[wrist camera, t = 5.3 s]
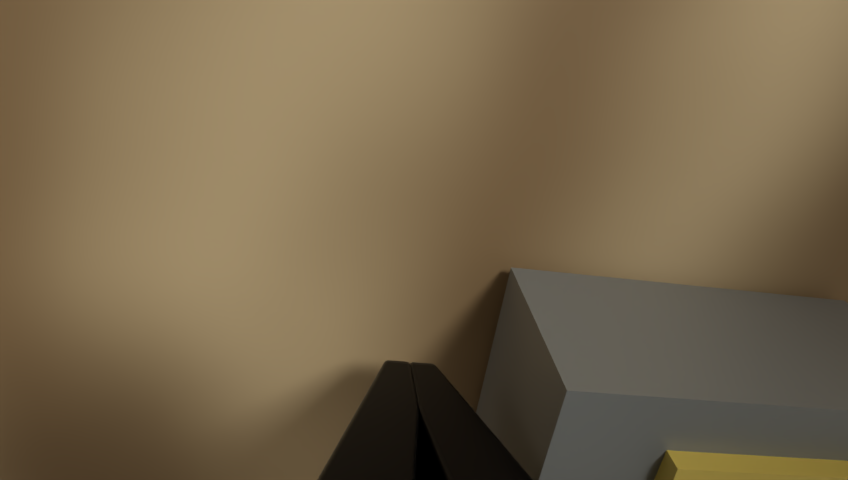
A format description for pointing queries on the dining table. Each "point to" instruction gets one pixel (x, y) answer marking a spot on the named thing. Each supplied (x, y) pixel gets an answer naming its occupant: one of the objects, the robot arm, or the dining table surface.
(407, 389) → the robot arm
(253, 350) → the wooden board
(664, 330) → the stud finder
